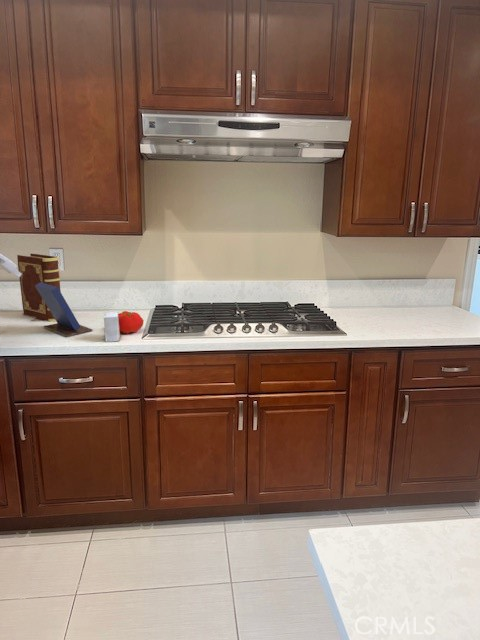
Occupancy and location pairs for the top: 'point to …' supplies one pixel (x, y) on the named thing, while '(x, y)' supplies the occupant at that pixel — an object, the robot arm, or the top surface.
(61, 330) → the brown flat board
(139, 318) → the tomato
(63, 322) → the book
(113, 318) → the small box
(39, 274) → the decorative book
